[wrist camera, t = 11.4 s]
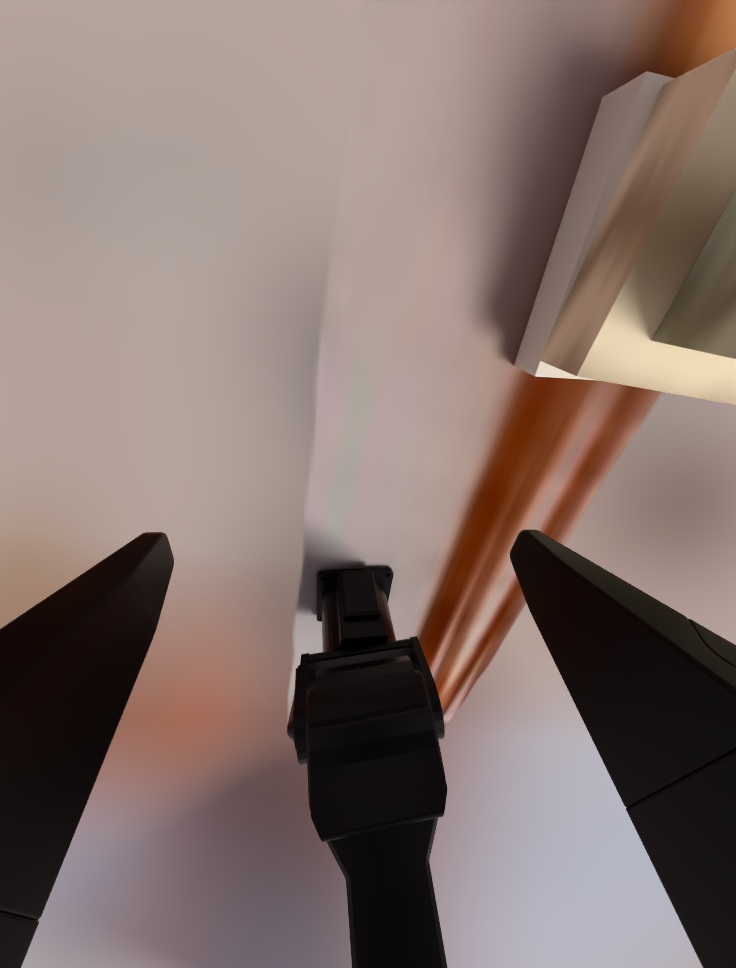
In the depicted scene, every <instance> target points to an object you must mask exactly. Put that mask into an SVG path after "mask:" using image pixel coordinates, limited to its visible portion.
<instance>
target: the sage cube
mask: <svg viewBox="0 0 736 968" xmlns="http://www.w3.org/2000/svg"><path fill="white" fill-rule="evenodd" d="M651 341H655V342H659V343H664V344H669V345H673V346H678V347H682V348H687V349H692V350H696V351H701V352H705V353H710V354H715V355H719V356H724V357H728V358H733V359H736V191H735V193H734V194H733V196H732V198H731V200H730V201H729V203H728V205H727V207H726V209H725V210H724V212H723V214H722V216H721V217H720V219H719V221H718V223H717V225H716V226H715V228H714V230H713V232H712V234H711V235H710V237H709V239H708V241H707V242H706V244H705V246H704V248H703V250H702V251H701V253H700V255H699V257H698V258H697V260H696V262H695V264H694V266H693V267H692V269H691V271H690V273H689V274H688V276H687V278H686V280H685V282H684V283H683V285H682V287H681V289H680V290H679V292H678V294H677V296H676V298H675V299H674V301H673V303H672V305H671V306H670V308H669V310H668V312H667V314H666V315H665V317H664V319H663V321H662V322H661V324H660V326H659V328H658V330H657V331H656V333H655V335H654V337H653V338H652V340H651Z"/></svg>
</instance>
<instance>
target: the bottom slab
mask: <svg viewBox="0 0 736 968" xmlns="http://www.w3.org/2000/svg"><path fill="white" fill-rule="evenodd" d="M673 79H675V78H672V77H668V76H664V75H660V74H656V73H652V72H648V71H647V72H645V73H643V74H641V75H640V76H638V77H636V78H635V79H633V80H631V81H629V82H628V83H626V84H624V85H622V86H621V87H619V88H617V89H616V90H614V91H612V92H610V93H609V94H607V95H605V96H604V97H602V100H601V103H600V106H599V109H598V112H597V115H596V118H595V121H594V124H593V127H592V130H591V133H590V136H589V139H588V142H587V145H586V148H585V151H584V155H583V158H582V161H581V164H580V167H579V170H578V173H577V176H576V179H575V182H574V185H573V188H572V191H571V194H570V197H569V200H568V203H567V206H566V209H565V212H564V215H563V218H562V221H561V224H560V227H559V230H558V233H557V236H556V239H555V242H554V246H553V249H552V252H551V255H550V258H549V261H548V264H547V267H546V270H545V273H544V276H543V279H542V282H541V285H540V288H539V291H538V294H537V297H536V300H535V303H534V306H533V309H532V312H531V315H530V318H529V321H528V324H527V327H526V330H525V334H524V337H523V340H522V343H521V346H520V349H519V352H518V355H517V358H516V361H515V364H514V366H516V367H517V368H519V369H521V370H523V371H525V372H527V373H529V374H531V375H533V376H539V377H555V378H571V379H587V380H595V379H589V378H583V377H578V376H575V375H572V374H570V373H568V372H565V371H563V370H560V369H558V368H556V367H553V366H551V365H548V364H546V363H544V362H541V361H539V360H540V358H541V356H542V354H543V351H544V349H545V347H546V345H547V342H548V340H549V338H550V336H551V333H552V331H553V329H554V327H555V324H556V322H557V320H558V318H559V315H560V313H561V311H562V309H563V307H564V304H565V302H566V300H567V298H568V295H569V293H570V291H571V289H572V286H573V284H574V282H575V280H576V277H577V275H578V273H579V271H580V268H581V266H582V264H583V262H584V259H585V257H586V255H587V253H588V251H589V248H590V246H591V244H592V242H593V239H594V237H595V235H596V233H597V231H598V228H599V226H600V224H601V222H602V219H603V217H604V215H605V213H606V210H607V208H608V206H609V204H610V202H611V199H612V197H613V195H614V193H615V190H616V188H617V186H618V184H619V182H620V179H621V177H622V175H623V173H624V170H625V168H626V166H627V164H628V161H629V159H630V157H631V155H632V153H633V150H634V148H635V146H636V144H637V141H638V139H639V137H640V135H641V133H642V130H643V128H644V126H645V124H646V121H647V119H648V117H649V115H650V112H651V110H652V108H653V106H654V104H655V101H656V99H657V97H658V95H659V92H660V90H661V88H662V86H663V85H664V84H666V83H668V82H669V81H671V80H673Z"/></svg>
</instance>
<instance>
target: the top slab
mask: <svg viewBox="0 0 736 968" xmlns="http://www.w3.org/2000/svg"><path fill="white" fill-rule="evenodd" d="M735 191H736V47H735V48H733V49H731V50H729V51H727V52H725V53H723V54H721V55H719V56H717V57H715V58H714V59H712V60H710V61H708V62H706V63H704V64H702V65H700V66H698V67H696V68H694V69H692V70H691V71H689V72H687V73H685V74H683V75H681V76H679V77H677V78H675V79H673V80H671V81H669V82H668V83H666V84H664V85H663V86H662V88H661V90H660V92H659V95H658V97H657V99H656V101H655V104H654V106H653V108H652V110H651V112H650V115H649V117H648V119H647V121H646V124H645V126H644V128H643V130H642V133H641V135H640V137H639V139H638V141H637V144H636V146H635V148H634V150H633V153H632V155H631V157H630V159H629V161H628V164H627V166H626V168H625V170H624V173H623V175H622V177H621V179H620V182H619V184H618V186H617V188H616V190H615V193H614V195H613V197H612V199H611V202H610V204H609V206H608V208H607V210H606V213H605V215H604V217H603V219H602V222H601V224H600V226H599V228H598V231H597V233H596V235H595V237H594V239H593V242H592V244H591V246H590V248H589V251H588V253H587V255H586V257H585V259H584V262H583V264H582V266H581V268H580V271H579V273H578V275H577V277H576V280H575V282H574V284H573V286H572V289H571V291H570V293H569V295H568V298H567V300H566V302H565V304H564V307H563V309H562V311H561V313H560V315H559V318H558V320H557V322H556V324H555V327H554V329H553V331H552V333H551V336H550V338H549V340H548V342H547V345H546V347H545V349H544V351H543V354H542V356H541V358H540V360H539V361H541V362H544V363H546V364H548V365H551V366H553V367H556V368H558V369H560V370H563V371H565V372H568V373H570V374H572V375H575V376H578V377H583V378H589V379H595V380H600V381H606V382H611V383H617V384H622V385H628V386H634V387H639V388H645V389H650V390H656V391H661V392H667V393H672V394H679V395H684V396H689V397H695V398H701V399H706V400H712V401H717V402H723V403H728V404H734V405H736V359H733V358H728V357H724V356H719V355H715V354H710V353H705V352H701V351H696V350H692V349H687V348H682V347H678V346H673V345H669V344H664V343H659V342H655V341H651V340H652V338H653V337H654V335H655V333H656V331H657V330H658V328H659V326H660V324H661V322H662V321H663V319H664V317H665V315H666V314H667V312H668V310H669V308H670V306H671V305H672V303H673V301H674V299H675V298H676V296H677V294H678V292H679V290H680V289H681V287H682V285H683V283H684V282H685V280H686V278H687V276H688V274H689V273H690V271H691V269H692V267H693V266H694V264H695V262H696V260H697V258H698V257H699V255H700V253H701V251H702V250H703V248H704V246H705V244H706V242H707V241H708V239H709V237H710V235H711V234H712V232H713V230H714V228H715V226H716V225H717V223H718V221H719V219H720V217H721V216H722V214H723V212H724V210H725V209H726V207H727V205H728V203H729V201H730V200H731V198H732V196H733V194H734V193H735Z"/></svg>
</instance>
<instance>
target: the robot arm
mask: <svg viewBox="0 0 736 968" xmlns="http://www.w3.org/2000/svg"><path fill="white" fill-rule="evenodd" d="M510 559H511V562H512V565H513V567H514V570H515V573H516V576H517V578H518V581H519V584H520V586H521V589H522V592H523V594H524V597H525V600H526V602H527V605H528V607H529V609H530V612H531V614H532V616H533V618H534V621H535V623H536V624H537V627H538V629H539V631H540V633H541V635H542V637H543V639H544V641H545V643H546V645H547V647H548V649H549V651H550V653H551V655H552V657H553V659H554V662H555V664H556V666H557V668H558V670H559V672H560V674H561V676H562V678H563V680H564V682H565V684H566V686H567V688H568V690H569V692H570V695H571V697H572V698H573V701H574V703H575V705H576V707H577V709H578V711H579V713H580V715H581V717H582V719H583V721H584V723H585V725H586V727H587V729H588V732H589V734H590V736H591V737H592V740H593V742H594V744H595V746H596V748H597V750H598V752H599V754H600V756H601V758H602V760H603V762H604V764H605V766H606V768H607V771H608V773H609V775H610V777H611V779H612V781H613V783H614V785H615V786H616V789H617V791H618V793H619V795H620V797H621V799H622V801H623V803H624V805H625V807H627V808H626V810H627V812H628V814H629V816H630V818H631V820H632V823H633V824H634V826H635V829H636V831H637V833H638V835H639V837H640V839H641V841H642V843H643V845H644V847H645V849H646V851H647V853H648V855H649V857H650V860H651V862H652V864H653V866H654V868H655V870H656V872H657V874H658V876H659V878H660V880H661V882H662V884H663V886H664V888H665V890H666V892H667V894H668V896H669V898H670V900H671V903H672V905H673V907H674V909H675V911H676V913H677V915H678V917H679V919H680V921H681V923H682V925H683V927H684V929H685V931H686V934H687V936H688V937H689V940H690V942H691V944H692V946H693V948H694V950H695V952H696V954H697V956H698V958H699V960H700V962H701V964H702V966H703V968H736V645H734V644H733V643H731V642H729V641H727V640H726V639H724V638H722V637H720V636H718V635H717V634H715V633H713V632H712V631H710V630H708V629H706V628H705V627H703V626H701V625H700V624H698V623H696V622H694V621H693V620H691V619H687V617H685V616H684V615H682V614H680V613H679V612H677V611H675V610H674V609H672V608H670V607H669V606H667V605H665V604H663V603H661V602H660V601H658V600H656V599H655V598H653V597H651V596H650V595H648V594H646V593H644V592H643V591H641V590H639V589H638V588H636V587H634V586H632V585H631V584H629V583H627V582H626V581H624V580H622V579H620V578H619V577H617V576H615V575H614V574H612V573H610V572H608V571H607V570H605V569H603V568H601V567H600V566H598V565H596V564H594V563H593V562H591V561H590V560H588V559H586V558H584V557H582V556H581V555H579V554H578V553H576V552H574V551H572V550H571V549H569V548H567V547H565V546H564V545H562V544H560V543H559V542H557V541H555V540H553V539H552V538H550V537H548V536H547V535H545V534H543V533H541V532H540V531H538V530H522V531H521V532H520V533H519V534H518V536H517V538H516V540H515V542H514V545H513V547H512V549H511V551H510ZM173 565H174V559H173V554H172V551H171V548H170V544H169V541H168V537H167V535H166V534H165V533H162V532H150V533H149V532H147V533H143V534H141V535H140V536H139V537H137V538H135V539H134V540H132V541H131V542H129V543H128V544H126V545H125V546H124V547H122V548H120V549H119V550H117V551H116V552H114V553H113V554H111V555H110V556H108V557H107V558H106V559H104V560H102V561H101V562H99V563H98V564H96V565H95V566H94V567H92V568H91V569H89V570H88V571H86V572H85V573H83V574H82V575H80V576H79V577H77V578H76V579H74V580H73V581H71V582H70V583H68V584H67V585H65V586H64V587H62V588H61V589H59V590H58V591H56V592H55V593H53V594H52V595H50V596H49V597H47V598H46V599H45V600H43V601H41V602H40V603H38V604H37V605H35V606H34V607H32V608H31V609H29V610H28V611H26V612H25V613H23V614H22V615H21V616H19V617H18V618H16V619H15V620H13V621H12V622H10V623H9V624H7V625H6V626H4V627H3V628H1V629H0V968H21V966H22V963H23V961H24V959H25V956H26V954H27V951H28V949H29V946H30V944H31V941H32V939H33V936H34V934H35V931H36V929H37V926H38V924H39V921H38V919H39V918H40V917H41V915H42V913H43V910H44V908H45V905H46V903H47V900H48V898H49V895H50V893H51V891H52V888H53V885H54V883H55V881H56V878H57V876H58V873H59V871H60V868H61V866H62V863H63V861H64V858H65V856H66V853H67V851H68V848H69V846H70V843H71V841H72V838H73V836H74V833H75V830H76V828H77V826H78V823H79V821H80V818H81V816H82V813H83V811H84V808H85V806H86V804H87V801H88V799H89V796H90V794H91V791H92V789H93V786H94V784H95V781H96V779H97V776H98V774H99V771H100V768H101V766H102V764H103V761H104V759H105V756H106V754H107V751H108V749H109V746H110V744H111V741H112V739H113V736H114V734H115V731H116V729H117V726H118V724H119V721H120V719H121V716H122V714H123V711H124V709H125V706H126V704H127V702H128V699H129V696H130V694H131V691H132V689H133V687H134V684H135V682H136V679H137V677H138V674H139V671H140V669H141V667H142V664H143V662H144V659H145V657H146V654H147V652H148V649H149V646H150V644H151V642H152V639H153V636H154V634H155V631H156V628H157V625H158V621H159V617H160V614H161V610H162V607H163V603H164V599H165V596H166V592H167V588H168V585H169V581H170V578H171V574H172V570H173ZM386 573H387V574H386ZM322 576H324V577H322ZM392 579H393V571H392V569H391V568H368V569H347V570H325V571H320V572H318V573H317V620H318V621H322V635H323V652H322V653H316V654H309V653H307V654H301V663H300V665H299V666H298V668H297V669H296V680H295V694H294V699H293V703H292V708H291V712H290V716H289V721H288V726H287V733H288V736H289V737H290V738H291V739H292V740H293V741H294V743H295V749H296V751H297V757H298V762H299V764H300V765H306V764H307V769H308V792H309V806H310V810H311V818H312V821H313V823H314V825H315V828H316V830H317V832H318V835H319V837H320V839H321V840H322V842H325V841H326V842H327V843H328V845H329V847H330V849H331V851H332V853H333V855H334V857H335V859H336V861H337V862H338V865H339V867H340V869H341V870H342V872H343V874H344V876H345V879H346V886H347V899H348V914H349V928H350V943H351V957H352V968H447V963H446V957H445V951H444V945H443V940H442V934H441V928H440V922H439V917H438V911H437V905H436V900H435V894H434V888H433V882H432V876H431V870H430V864H429V858H430V853H431V849H432V844H433V839H434V834H435V830H436V825H437V820H438V817H442V816H443V815H444V811H445V803H446V796H447V784H446V781H445V773H444V767H443V762H442V757H441V752H440V747H439V742H438V739H443V738H444V720H443V714H442V708H441V703H440V699H439V695H438V692H437V688H436V685H435V682H434V679H433V677H432V674H431V671H430V669H429V666H428V664H427V661H426V658H425V656H424V653H423V651H422V648H421V645H420V643H419V640H418V638H417V636H415V637H410V639H404V640H398V641H396V639H395V634H394V630H393V625H392V621H391V616H390V612H389V607H388V599H389V594H390V589H391V584H392Z"/></svg>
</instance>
